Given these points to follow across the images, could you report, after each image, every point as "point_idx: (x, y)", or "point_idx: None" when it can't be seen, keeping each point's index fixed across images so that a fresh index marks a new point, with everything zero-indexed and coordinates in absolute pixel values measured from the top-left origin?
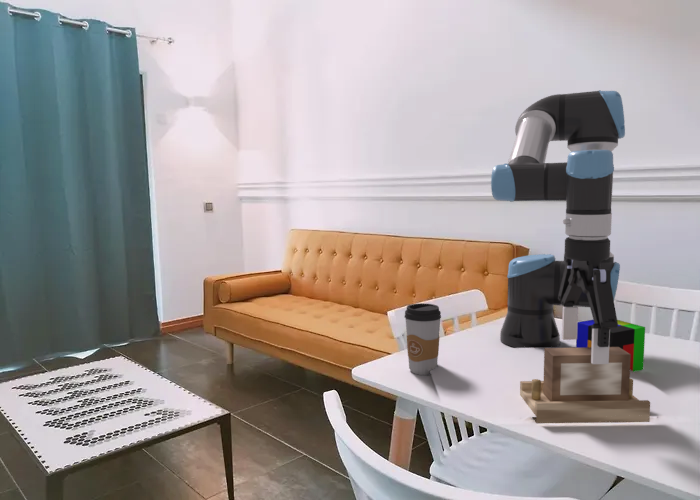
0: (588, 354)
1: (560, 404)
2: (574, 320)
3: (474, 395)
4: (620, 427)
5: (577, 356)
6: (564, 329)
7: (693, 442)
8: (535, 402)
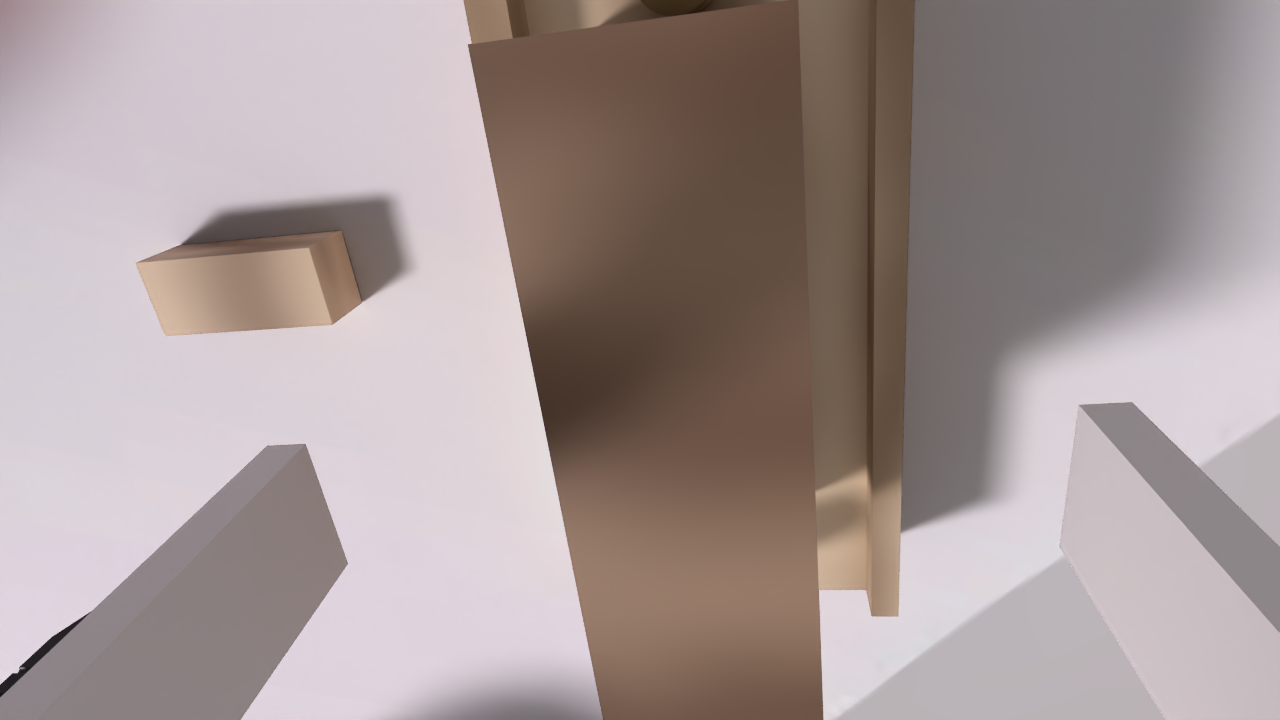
0: (791, 484)
1: (898, 499)
2: (172, 633)
3: (562, 700)
4: (957, 129)
5: (815, 574)
6: (287, 639)
7: None
8: (871, 612)
